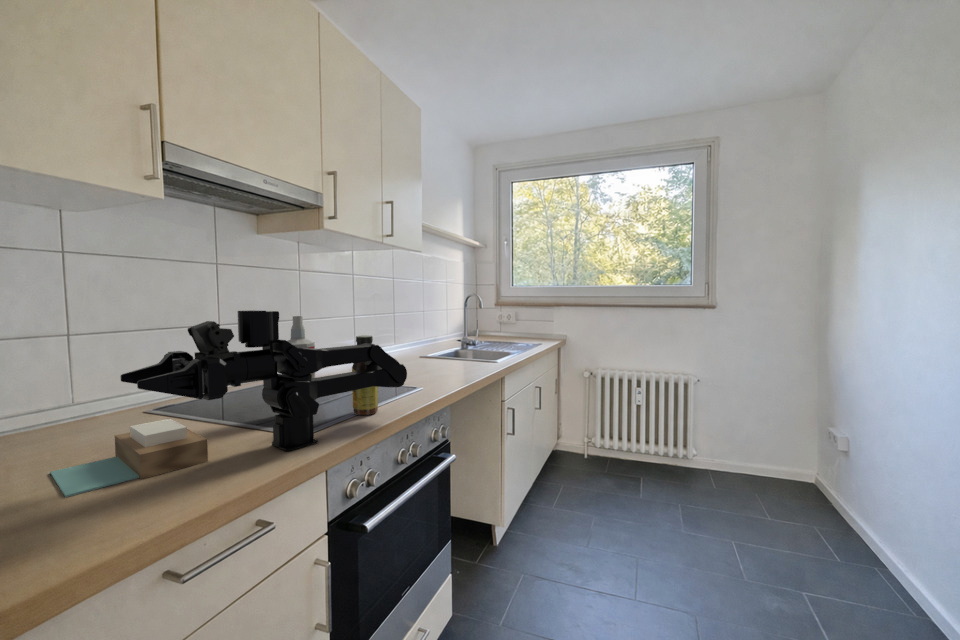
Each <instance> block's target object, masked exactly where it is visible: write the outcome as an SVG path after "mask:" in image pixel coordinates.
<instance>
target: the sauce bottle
mask: <svg viewBox="0 0 960 640" xmlns="http://www.w3.org/2000/svg"><path fill="white" fill-rule="evenodd" d="M373 340H374V339H373V335H367V334H365V335H364V334H362V335H357V336H356V337H355V342H356V345H361V344H364V343H369V344H373ZM365 369H366V367H365V364H364V362H358V363H352V366H351V372H354V371H360V370H365ZM378 406H379V387H368V388H364V389H359V390H354V391H352V408H353V414H355V413H356V414H359V415H358V416H371V414H372V415H374V414H376V413H377V412H378ZM356 414H355V415H356Z"/></svg>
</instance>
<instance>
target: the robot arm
mask: <svg viewBox="0 0 960 640" xmlns="http://www.w3.org/2000/svg"><path fill="white" fill-rule="evenodd" d="M279 321H280V312H279V310H278V311H277V310H275V311H273V310H269V311H268V310H256V309H254V310H237V328H238V329H237V333H238V334H237V336H238V338H237V339H238V342H240V344H244V348H252V349H253V348H262V349H256V350H247V351H246V350H244V351H235V350H234V351H230V349H229V348H228V346H229V343H230V342H231V341H232V340H233V338H235V334H234V333H233V330H232V328H225V327H224V328H221V325H220V323H217V322H216V321H214V320H213V321H212V320H206V321H204V322H201V323H197V324H196V325H193V326H190V327H188V328H187V332H188V335H189V336H191V338H192V340H193V343H194V344H195V347H196V348H197V350H198V351H196V352H194V356H193V355H191V354H190V353H189V352H188V351H182V350H177V351H175V350H174V351H168V352H167V353H165V354H164V356H163V357H162V359H161V360H160V361H159V362H158V363H155V364H152V365H149V366H145V367H142V368H139V369H135V370H131V371H128V372H126V373H122V374H120V382H122V383H127V384H134V385H136V386H137V389H138V390H143V391H150V392H154V393H155V392H157V393H162V394H167V395H172V396H173V395H174V396H179V397H185V398H191V399H197V400H206V401H213V400H218V399H219V400H220V399H223V397H224V396H225V395H226V394H227V393H228V391H229V388H228V386H230V387H234V388H237V387H241V386H242V385H243V384H247V383H255V382H260V381H261V382H262V385H263V388H262V392H261V398H262V399H263V402H264V403H265V404H266V405H268V406H269V407H270V409H271V411H272V413H273V414H274V413H275V415H274V423H273V424H272V437H273V441H272V442H271V446H274V447H276V448H278V449H280V450H283V451H285V452H290V451H294V450H297V449H301V448H304V447H307V446H311V445H314V444H317V443H319V439H316V438H314V437H315V436H314V416H315V415H317V414H318V410H319V407H320V403H319V402H318V401H315V400H317V399H320V398H324V397H325V398H326V397H328V396H334V395H339V394H344V393H348V392H353V391H354V390H359V389H364V388H368V387H378V388H400V387H403V386H404V385H405V382H406V380H407V377H408V370H407V368H406V366H405V365H404V364H403V363H400V362H399V361H398V360H397V359H396V358H394V357H392V356H391V355H390V354H389V353H387V352H386V351H385V350H384V349H383V348H382V347H381V346H380V345H379V344H376V343H372V344H369V343H364V344H361V345H357V344H354V345H344V346H334V347H333V346H332V347H324V348H322V347H321V348H304V347H295V346H294V345H292V344H291V343H289V342H288V340H287V339H280V337H279V336H280V333H279V331H280V330H279ZM358 362H364V364H365V367H366V369H365V370H360V371H354V372H352V371H349V372H344V373H339V374H338V373H337V374H332V375H331V374H330V375H325V376H319V377H315V378H312V373H315V374H316V373H318V372H319V371H320V370H322V369H325V368H328V367H329V368H330V367H334V366H343V365H350V364H353V363H358ZM282 374H284V375H282ZM313 415H314V416H313Z"/></svg>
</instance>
